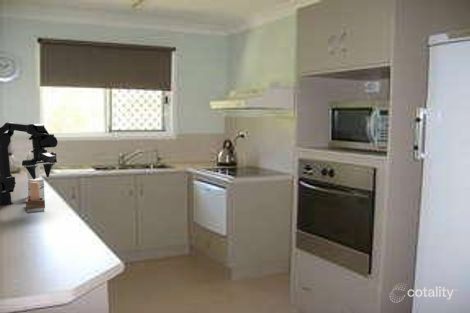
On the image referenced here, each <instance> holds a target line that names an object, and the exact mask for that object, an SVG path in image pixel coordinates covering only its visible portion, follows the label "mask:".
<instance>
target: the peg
mask: <svg viewBox="0 0 470 313" xmlns="http://www.w3.org/2000/svg"><path fill="white" fill-rule="evenodd" d="M30 197H31V201H37V200H40V189H39V182H30Z"/></svg>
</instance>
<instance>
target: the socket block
mask: <svg viewBox="0 0 470 313" xmlns="http://www.w3.org/2000/svg"><path fill="white" fill-rule="evenodd" d="M45 201H46V199H45V197H44V198H40V200H37V201H31V199H29V198H25V210H27V209H34V208H44V209H45V208H46V202H45Z"/></svg>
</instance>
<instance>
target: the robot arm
mask: <svg viewBox="0 0 470 313" xmlns="http://www.w3.org/2000/svg"><path fill="white" fill-rule="evenodd" d="M15 131H16V132H24V133H27V134H28V135H30V136H29V138H28V140H29V141H31V143H32V150H33V151H30V152H31V153H33V158H32V160H26V159H25V160H24V159H23V160H22V161H21V167H22V166H23V167H24V168H25V169H27V170H28V172H29V173H30V175H31V176H32V178H33V179H35V177H36V175H35V168H36V167H37V166H35V165H36V164H38V163H40V164H42V165H43V169H44V170H43V171H44V173H45V176H46V178H49V177H50V174H51V170H52V167H53V166H54V165H56V164H57V162H58V160H57V159H58V158H57V153H56V152H55V151H53V152H52V151H51V152H50V153H49V152H48V150H47V149H50V148H56V147H57V146H58V139H57V137H56V136H55V134H54V133H51V134H50V133H49V132H48V130H47V128H45V125H44V124H43V123H32V124H31V123H30V124H28V123H26V124H25V123H17V122H13V121H12V122H11V121H10V122H9V121H8V122H5V123H4V124H3V125H2V126H1V127H0V206H8V205H12V204H14V202H13V201H12V195H11V194H12V193H13V192H14V190H15V187H16V184H17V183H16V176H12V174H11V168H10V167H11V166H10V157H9V155H10V154H9V146H10V144H11V139H12V138H11V137H13V135H14V133H15Z"/></svg>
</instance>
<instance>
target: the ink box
mask: <svg viewBox="0 0 470 313" xmlns="http://www.w3.org/2000/svg"><path fill="white" fill-rule="evenodd" d="M30 182H39V189H40V198H45V178H36V179H30V180H28V179H27V187H28V188H27V189H28V190H27V196H28V195H29V197H28V199H31V197H30Z"/></svg>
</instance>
